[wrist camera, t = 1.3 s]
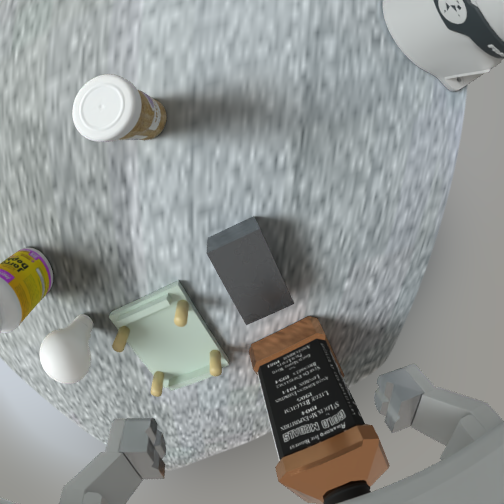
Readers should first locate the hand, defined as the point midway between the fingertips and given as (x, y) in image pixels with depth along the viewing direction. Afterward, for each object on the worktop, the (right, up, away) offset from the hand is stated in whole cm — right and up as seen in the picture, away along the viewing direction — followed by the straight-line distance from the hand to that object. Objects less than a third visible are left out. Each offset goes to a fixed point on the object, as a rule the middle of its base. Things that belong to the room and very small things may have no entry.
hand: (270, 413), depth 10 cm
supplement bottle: (-28, +3, +23) cm, 37 cm away
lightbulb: (-22, -3, +26) cm, 34 cm away
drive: (-1, +5, +26) cm, 26 cm away
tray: (-11, -5, +28) cm, 30 cm away
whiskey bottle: (+5, -8, +31) cm, 33 cm away
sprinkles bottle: (-12, +19, +19) cm, 30 cm away
